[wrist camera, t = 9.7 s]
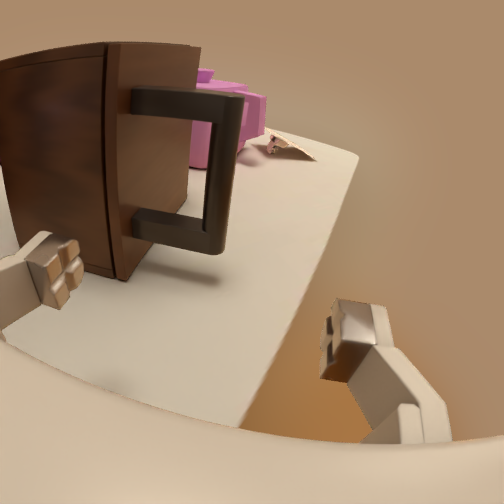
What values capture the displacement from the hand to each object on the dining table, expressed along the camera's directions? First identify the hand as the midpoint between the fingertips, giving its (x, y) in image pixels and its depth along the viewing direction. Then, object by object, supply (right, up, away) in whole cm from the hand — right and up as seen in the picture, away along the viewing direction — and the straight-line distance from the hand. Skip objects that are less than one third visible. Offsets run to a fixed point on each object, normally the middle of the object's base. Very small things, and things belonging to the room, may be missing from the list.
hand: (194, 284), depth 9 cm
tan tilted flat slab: (+7, +19, +40) cm, 45 cm away
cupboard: (-12, +4, +17) cm, 22 cm away
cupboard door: (-3, +2, +17) cm, 18 cm away
